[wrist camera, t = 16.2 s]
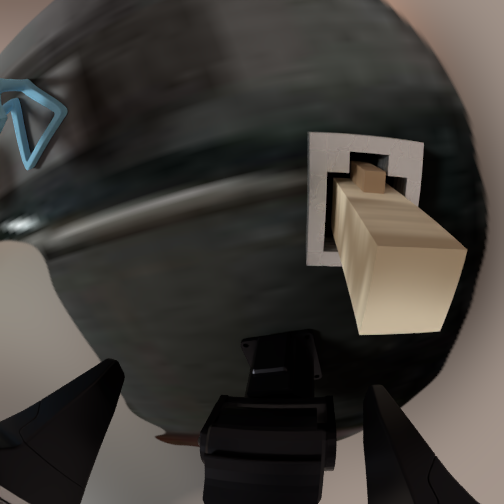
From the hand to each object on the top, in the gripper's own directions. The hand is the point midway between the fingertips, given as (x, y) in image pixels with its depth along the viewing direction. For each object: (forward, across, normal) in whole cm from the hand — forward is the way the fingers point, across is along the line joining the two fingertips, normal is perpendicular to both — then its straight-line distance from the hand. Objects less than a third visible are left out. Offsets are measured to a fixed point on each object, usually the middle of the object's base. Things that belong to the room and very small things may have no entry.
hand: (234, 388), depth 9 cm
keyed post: (+13, -6, -3) cm, 15 cm away
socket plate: (+13, -6, -3) cm, 15 cm away
